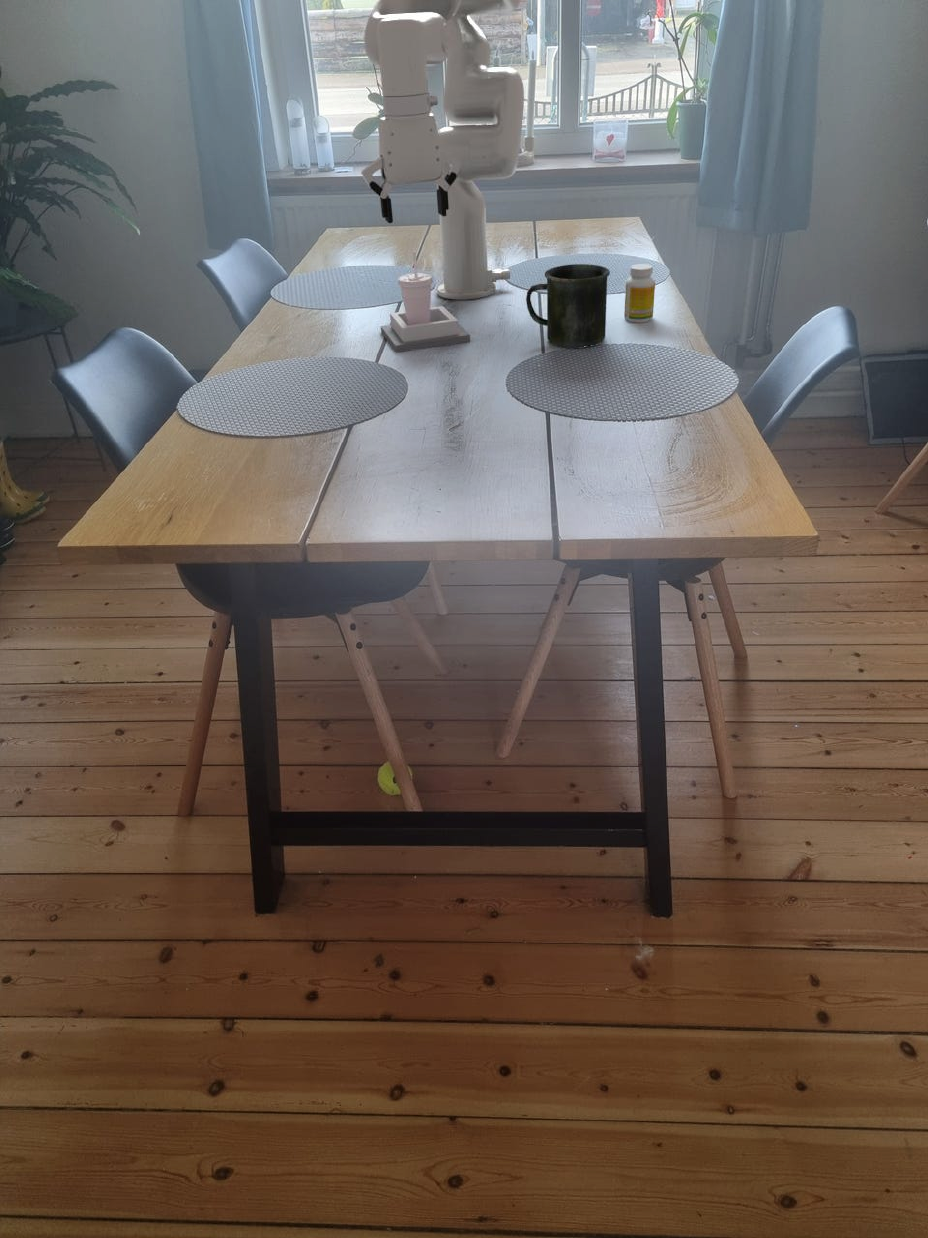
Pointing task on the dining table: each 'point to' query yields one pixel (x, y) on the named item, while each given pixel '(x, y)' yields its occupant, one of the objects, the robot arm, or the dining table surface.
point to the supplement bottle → (639, 294)
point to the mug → (574, 305)
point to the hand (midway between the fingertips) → (415, 218)
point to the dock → (424, 331)
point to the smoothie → (416, 295)
